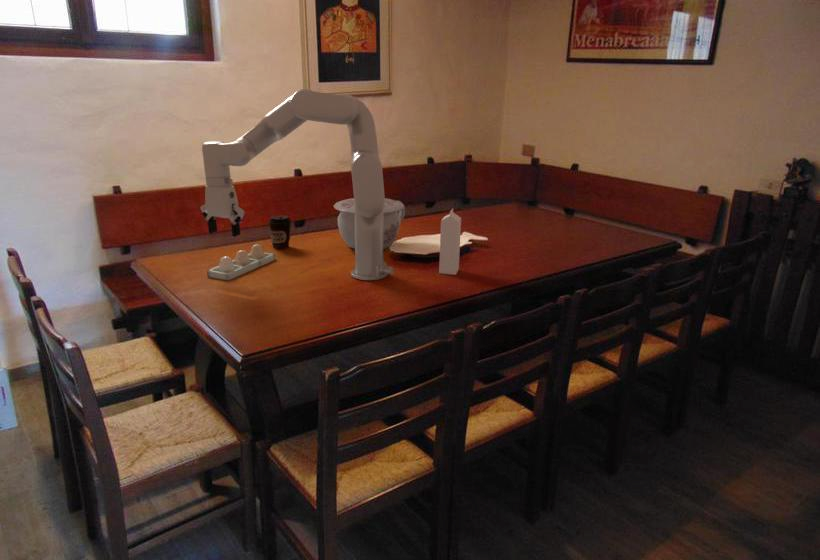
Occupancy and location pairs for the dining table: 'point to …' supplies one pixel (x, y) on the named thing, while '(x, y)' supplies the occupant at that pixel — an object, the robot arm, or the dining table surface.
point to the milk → (450, 244)
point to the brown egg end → (256, 252)
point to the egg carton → (240, 267)
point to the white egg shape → (226, 264)
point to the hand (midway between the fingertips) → (224, 233)
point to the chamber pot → (389, 220)
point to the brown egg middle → (242, 258)
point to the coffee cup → (280, 231)
